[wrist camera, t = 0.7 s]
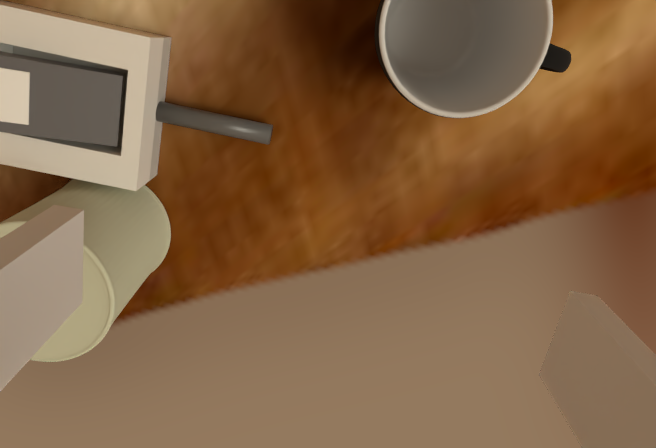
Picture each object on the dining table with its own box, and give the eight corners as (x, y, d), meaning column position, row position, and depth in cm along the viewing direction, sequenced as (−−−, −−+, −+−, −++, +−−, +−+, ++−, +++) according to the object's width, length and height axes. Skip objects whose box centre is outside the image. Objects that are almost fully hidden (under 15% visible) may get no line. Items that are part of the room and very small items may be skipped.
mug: (351, 80, 38) (357, 95, 28) (386, -57, 35) (407, -91, 25) (510, 122, 39) (569, 150, 29) (558, -8, 36) (640, -24, 26)
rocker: (-9, 123, 34) (-17, 130, 32) (-9, 49, 33) (-17, 52, 31) (118, 140, 37) (117, 147, 35) (124, 72, 35) (122, 76, 34)
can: (183, 192, 41) (126, 253, 29) (156, 295, 44) (95, 385, 32) (63, 153, 40) (-44, 200, 28) (44, 260, 43) (-60, 342, 31)
